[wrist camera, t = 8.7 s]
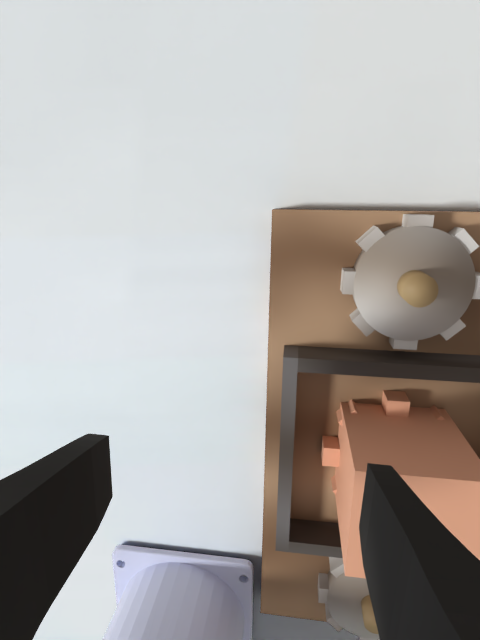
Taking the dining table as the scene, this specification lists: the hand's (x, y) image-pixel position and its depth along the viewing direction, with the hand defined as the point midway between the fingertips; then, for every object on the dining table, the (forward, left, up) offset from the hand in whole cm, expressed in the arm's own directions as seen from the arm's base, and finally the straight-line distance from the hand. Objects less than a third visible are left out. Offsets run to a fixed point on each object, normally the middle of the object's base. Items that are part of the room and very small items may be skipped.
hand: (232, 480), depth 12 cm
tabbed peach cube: (-3, -6, -8) cm, 10 cm away
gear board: (-4, -6, -9) cm, 11 cm away
